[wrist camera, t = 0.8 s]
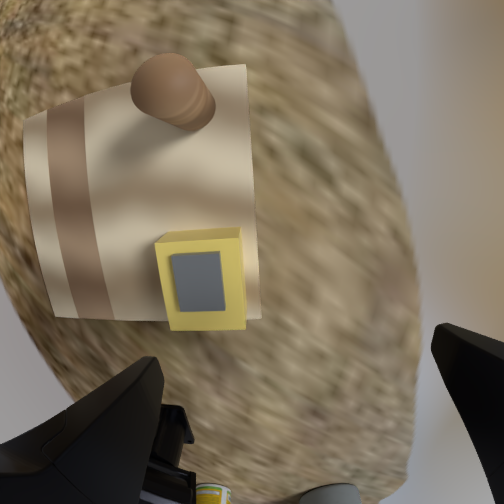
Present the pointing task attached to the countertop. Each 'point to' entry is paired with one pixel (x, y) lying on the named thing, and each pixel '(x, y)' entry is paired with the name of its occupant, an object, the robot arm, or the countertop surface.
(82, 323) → the countertop surface
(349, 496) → the water bottle
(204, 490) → the supplement bottle
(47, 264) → the plywood panel
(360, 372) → the countertop surface
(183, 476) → the robot arm
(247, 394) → the countertop surface
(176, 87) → the wooden tool handle
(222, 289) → the block
